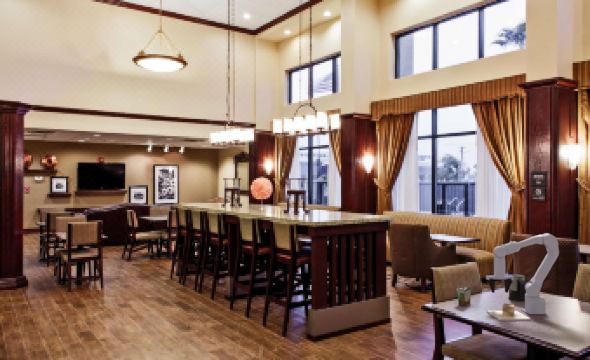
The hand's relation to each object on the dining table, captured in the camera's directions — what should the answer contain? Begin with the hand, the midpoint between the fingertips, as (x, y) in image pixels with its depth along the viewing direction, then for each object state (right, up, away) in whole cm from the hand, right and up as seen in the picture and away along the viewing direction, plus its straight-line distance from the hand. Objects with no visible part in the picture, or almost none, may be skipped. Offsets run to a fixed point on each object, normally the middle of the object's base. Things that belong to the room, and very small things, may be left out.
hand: (499, 292), depth 240 cm
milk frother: (+24, -10, +19) cm, 32 cm away
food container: (-17, -10, +10) cm, 22 cm away
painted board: (-2, -9, -13) cm, 16 cm away
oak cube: (-2, -8, -13) cm, 16 cm away
